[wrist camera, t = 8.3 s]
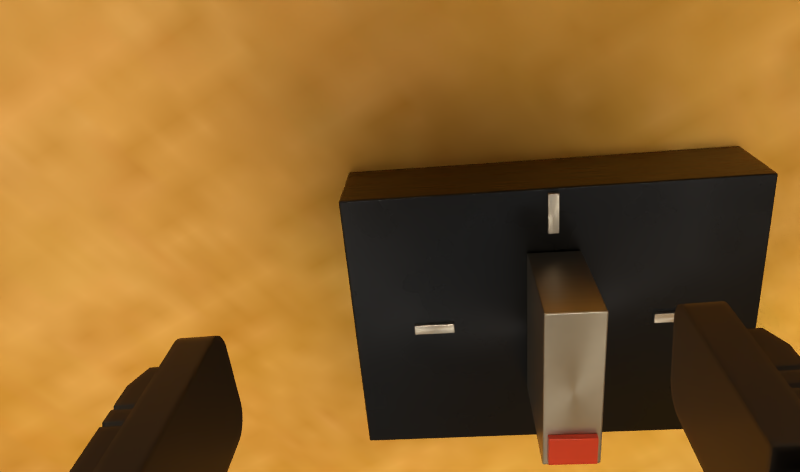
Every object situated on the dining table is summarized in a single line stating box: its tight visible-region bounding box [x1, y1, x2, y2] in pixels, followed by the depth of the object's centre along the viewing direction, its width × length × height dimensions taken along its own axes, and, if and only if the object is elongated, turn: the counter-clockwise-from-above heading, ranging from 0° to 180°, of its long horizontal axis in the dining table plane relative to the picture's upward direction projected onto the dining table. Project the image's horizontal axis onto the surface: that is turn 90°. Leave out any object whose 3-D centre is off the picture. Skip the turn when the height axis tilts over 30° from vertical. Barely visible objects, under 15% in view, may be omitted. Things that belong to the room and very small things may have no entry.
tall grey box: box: [527, 251, 608, 465], centre depth 22 cm, size 6×2×4 cm, turn 4°
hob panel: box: [339, 146, 778, 440], centre depth 25 cm, size 14×10×3 cm
